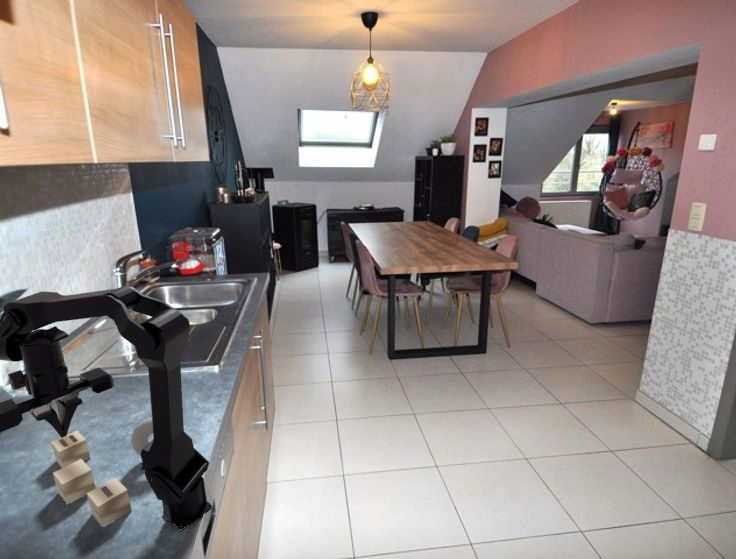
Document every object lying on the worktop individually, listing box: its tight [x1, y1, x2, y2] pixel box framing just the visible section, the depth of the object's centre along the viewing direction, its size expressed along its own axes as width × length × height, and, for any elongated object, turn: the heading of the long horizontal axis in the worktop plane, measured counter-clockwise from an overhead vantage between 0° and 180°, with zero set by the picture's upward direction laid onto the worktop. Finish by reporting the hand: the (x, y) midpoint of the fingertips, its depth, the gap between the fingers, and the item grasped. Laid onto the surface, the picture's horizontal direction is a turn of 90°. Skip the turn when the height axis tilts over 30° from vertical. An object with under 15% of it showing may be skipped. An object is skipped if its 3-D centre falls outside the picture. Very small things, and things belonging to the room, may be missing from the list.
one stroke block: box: [86, 477, 133, 528], centre depth 80 cm, size 5×5×5 cm
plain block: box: [52, 459, 97, 505], centre depth 85 cm, size 5×5×5 cm
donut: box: [130, 416, 153, 457], centre depth 94 cm, size 10×3×10 cm, turn 105°
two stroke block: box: [50, 430, 91, 469], centre depth 94 cm, size 5×5×5 cm
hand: (63, 436), depth 82 cm, fingers closed
